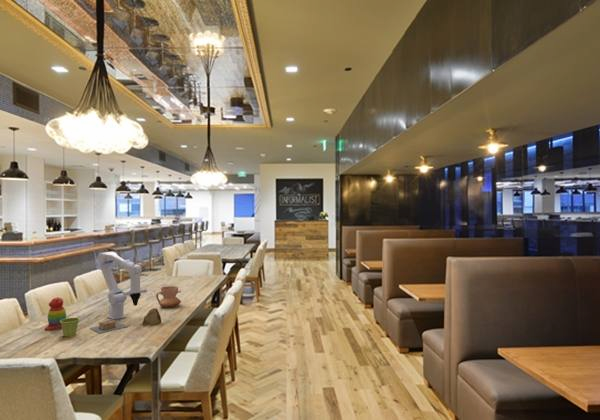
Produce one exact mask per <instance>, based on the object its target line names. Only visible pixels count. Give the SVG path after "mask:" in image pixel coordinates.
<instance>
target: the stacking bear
mask: <svg viewBox="0 0 600 420" xmlns="http://www.w3.org/2000/svg"><path fill="white" fill-rule="evenodd" d="M63 305H64V299H63V298H61V297H59V296H57V297H54V298H52V300H51V301H49V303H48V306H49V307H50V308H49V309H48V315H47V322H48V325H47V326H45V328H44V331H47V332H48V331H54V330H60V329H62V325H61V322H60V321H61V320H63V319H66V318H67V312H66V308H65V307H64V306H63Z"/></svg>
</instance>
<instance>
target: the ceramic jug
mask: <svg viewBox="0 0 600 420" xmlns="http://www.w3.org/2000/svg"><path fill="white" fill-rule="evenodd" d="M179 293H182V290H179V286H177V285H168V286H162V287H160V291H158V292H156V294H155V299H156V300H157V302H158V305H159V306H160V307H162V308H167V309H169V308H175V307H178V306H179V305H180V304H181V299H179V298H178V297H177V294H179ZM159 294H160V295H161V296H162V297H163V298H161V300H160V298H159Z"/></svg>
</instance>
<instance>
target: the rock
mask: <svg viewBox="0 0 600 420" xmlns="http://www.w3.org/2000/svg"><path fill="white" fill-rule="evenodd" d="M160 323H162V318H161V314H160V311H159V310H158V308H157V307H153V308H152V309H149V310H148V312H147V313H146V315H144V318H143V320H142V325H143V326H145V325H155V324H160Z"/></svg>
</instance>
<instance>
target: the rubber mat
mask: <svg viewBox="0 0 600 420" xmlns="http://www.w3.org/2000/svg"><path fill="white" fill-rule="evenodd" d="M124 328H129V326H128V325H126V324H123V323H121V322H118V321H115V328H111V329H107V330H101V329H99V325H98V326H93V327H90V328H89V330H92V331H94V332H95V333H98V334H104V333H108V332H113V331H117V330H121V329H124Z"/></svg>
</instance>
